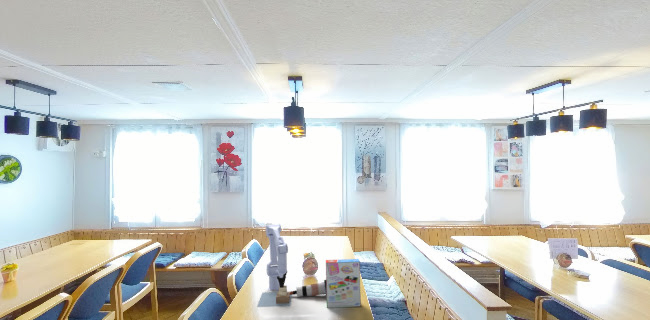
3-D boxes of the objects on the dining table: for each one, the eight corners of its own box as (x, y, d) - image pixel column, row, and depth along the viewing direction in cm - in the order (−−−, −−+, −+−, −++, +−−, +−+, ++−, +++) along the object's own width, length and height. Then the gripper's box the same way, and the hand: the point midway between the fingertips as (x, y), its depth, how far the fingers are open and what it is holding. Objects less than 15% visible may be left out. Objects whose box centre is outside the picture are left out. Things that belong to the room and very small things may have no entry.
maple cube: (279, 292, 207) (279, 285, 207) (286, 292, 207) (286, 285, 207) (278, 295, 202) (278, 288, 202) (286, 295, 202) (286, 288, 202)
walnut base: (277, 298, 208) (277, 291, 208) (290, 297, 209) (289, 291, 209) (276, 303, 200) (275, 296, 200) (289, 303, 201) (289, 296, 201)
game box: (359, 303, 201) (359, 258, 201) (361, 307, 195) (360, 261, 196) (326, 304, 200) (325, 259, 200) (326, 308, 195) (325, 262, 195)
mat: (262, 293, 218) (262, 292, 218) (292, 292, 219) (292, 291, 219) (256, 307, 196) (256, 306, 196) (290, 306, 197) (290, 305, 197)
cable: (290, 302, 213) (288, 286, 218) (340, 294, 216) (338, 278, 220) (288, 301, 204) (287, 284, 209) (341, 293, 207) (339, 276, 211)
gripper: (277, 260, 213) (277, 281, 213) (274, 267, 198) (274, 289, 198) (287, 260, 213) (288, 280, 213) (286, 267, 198) (286, 289, 198)
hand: (282, 285), depth 206 cm, fingers open, 7 cm apart
